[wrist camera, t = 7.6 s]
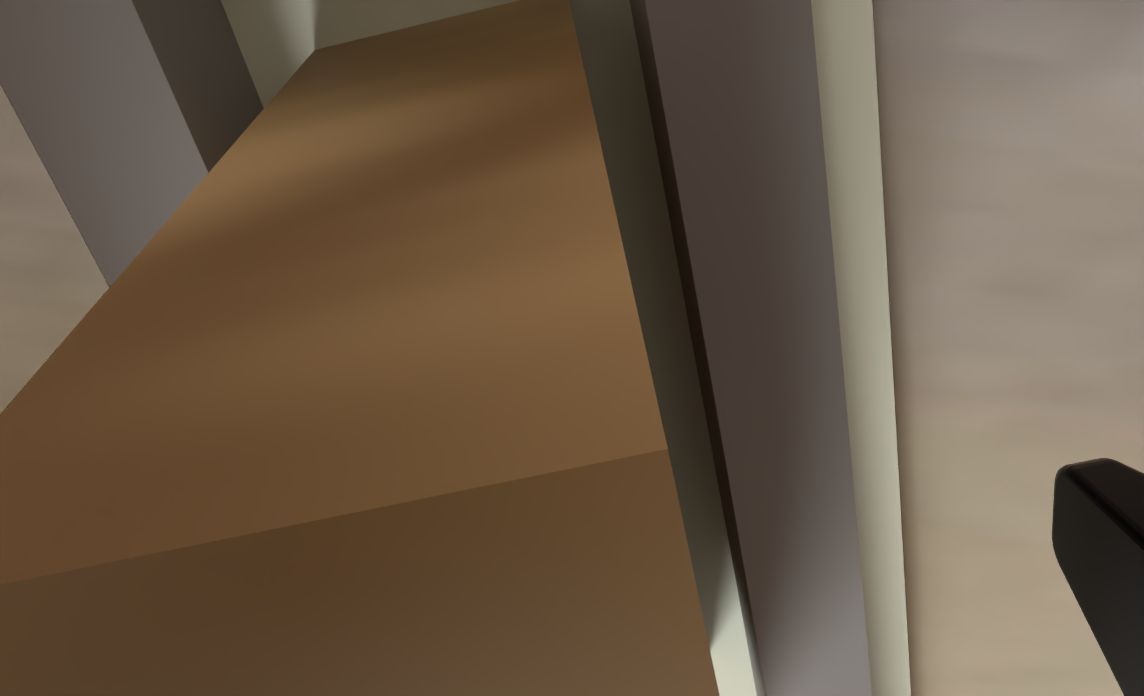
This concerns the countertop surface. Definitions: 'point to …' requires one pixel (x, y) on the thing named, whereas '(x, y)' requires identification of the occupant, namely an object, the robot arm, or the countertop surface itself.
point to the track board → (652, 249)
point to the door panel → (364, 410)
